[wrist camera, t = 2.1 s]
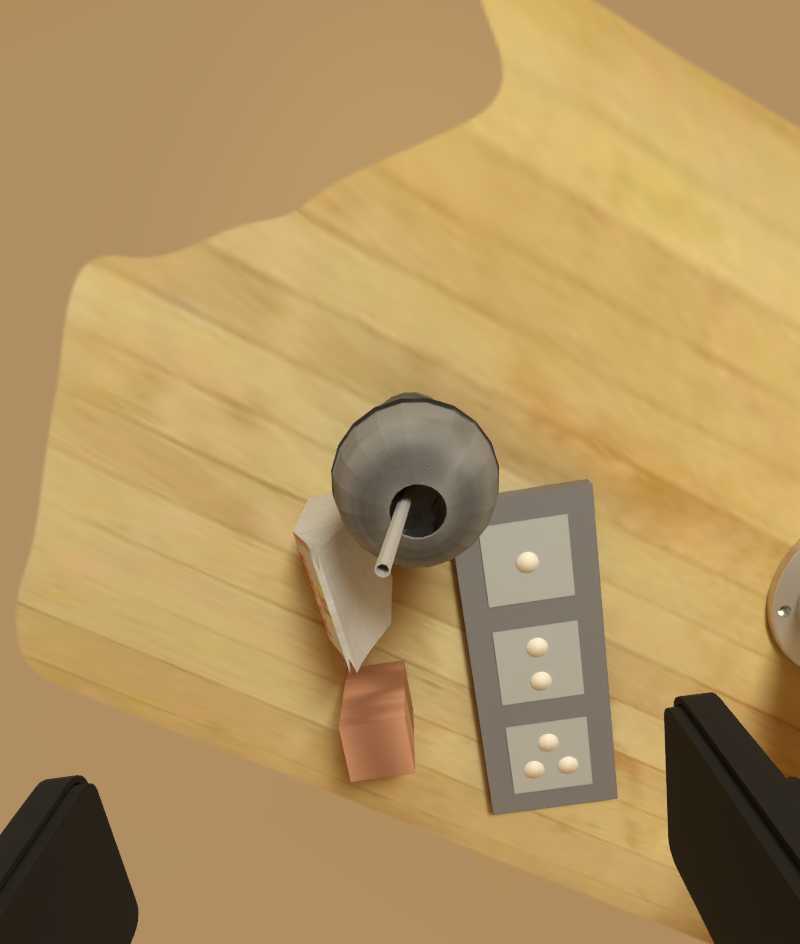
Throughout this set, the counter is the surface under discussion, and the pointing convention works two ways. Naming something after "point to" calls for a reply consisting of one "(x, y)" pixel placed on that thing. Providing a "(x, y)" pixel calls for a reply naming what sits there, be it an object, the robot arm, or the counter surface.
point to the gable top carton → (343, 580)
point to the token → (377, 722)
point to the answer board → (540, 650)
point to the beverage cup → (415, 482)
